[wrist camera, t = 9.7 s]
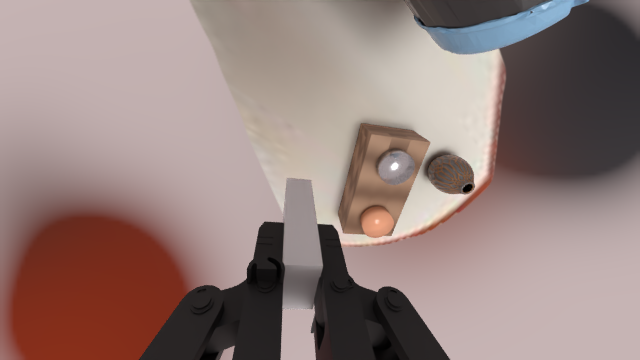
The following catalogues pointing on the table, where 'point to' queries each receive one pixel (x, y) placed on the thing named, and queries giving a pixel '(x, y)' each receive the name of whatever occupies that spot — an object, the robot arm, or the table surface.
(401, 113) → the table surface
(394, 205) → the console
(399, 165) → the grey plunger
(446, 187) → the vase
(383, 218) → the terracotta plunger
